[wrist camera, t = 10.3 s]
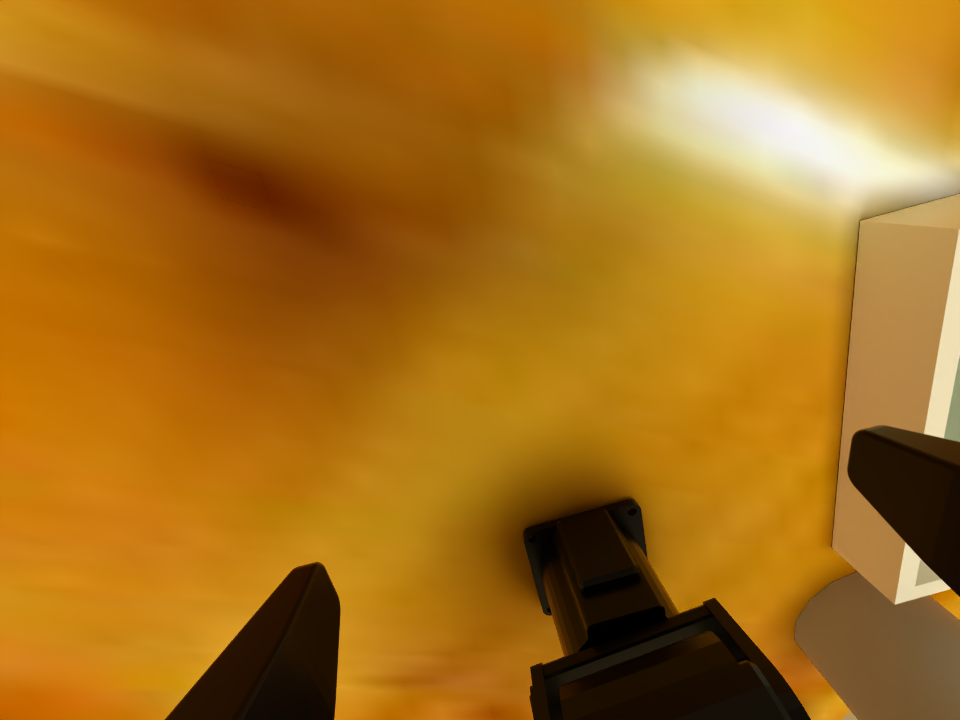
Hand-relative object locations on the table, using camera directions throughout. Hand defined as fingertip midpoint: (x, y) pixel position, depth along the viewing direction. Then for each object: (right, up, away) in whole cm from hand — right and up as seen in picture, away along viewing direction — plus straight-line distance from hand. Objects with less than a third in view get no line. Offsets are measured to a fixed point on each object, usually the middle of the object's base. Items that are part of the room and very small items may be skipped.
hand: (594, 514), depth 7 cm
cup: (+23, -15, +23) cm, 36 cm away
